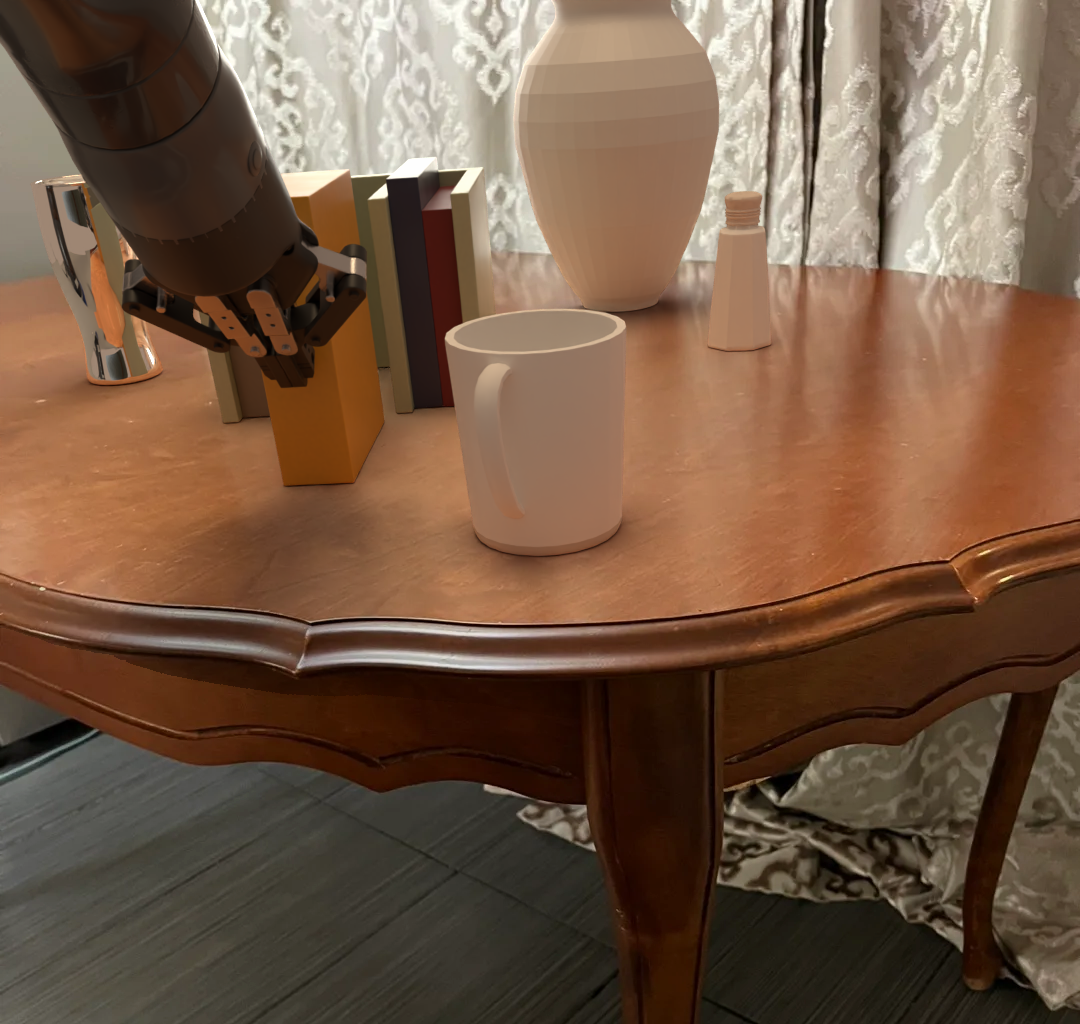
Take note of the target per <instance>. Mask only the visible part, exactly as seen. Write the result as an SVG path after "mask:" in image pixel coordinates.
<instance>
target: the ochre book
mask: <svg viewBox="0 0 1080 1024" xmlns="http://www.w3.org/2000/svg"><path fill="white" fill-rule="evenodd" d="M280 174H281V176H282V178H283V181H284V183H285V185H286V188H287V190H288V192H289V195H290V197H291V200H292V203H293V206H294V209H295V212H296V215H297V217H298V218H299V219H300V220H301V221H302V222H303V223H304V224H305V225H307V226H308V227H309V228H311V229H312V230H313V231H314V233H315V234H316V236H317V238H318V242H319V246H320V247H323V248H326V249H329V250H331V251H334V252H337V253H340V252H341V250H342V249H343V248H344V247H345V246H346V245H349V244H357V245H360V240H359V233H358V226H357V218H356V211H355V204H354V197H353V190H352V182H351V176H352V175H351V170H350V169H349V168H343V169H331V170H330V169H329V170H328V169H327V170H313V171H301V172H284V173H280ZM318 281H319V277H318V276H317V275H316V274H314V275H313V277H312V278H311V280H310V281H309V283H308V284H307V286H306V287H305V289H304V290H303V292H302V293H301V295H300V296H299V298H298V299H297V301H296V303H297V306H300V305H303V304H305V299H306V296H307V295H308V294H309V292H310V291H311V290H312V288H313V287H314V286H315V284H316V283H317V282H318ZM313 348H314V350H315V364H314V376H313V378H308V382H307V386H306V387H291V388H281V387H280V386H279V384H278V382H277V381H276V380H270V379H269V378H268V377H266V376H265V375H264V373H263V371H262V370H261V372H262V377H263V382H264V387H265V392H266V397H267V402H268V408H269V413H270V416H269V417H270V423H271V427H272V433H273V438H274V443H275V444H274V445H275V449H276V452H277V458H278V459H277V460H278V464H279V468H280V475H281V480H282V484H283V487H287V486H288V487H289V486H291V487H292V486H308V485H309V486H311V485H312V486H313V485H330V484H331V485H332V484H351V483H355V481H356V479H357V478H358V475H359V473H360V472H361V469H362V467H363V466H364V464H365V461H366V459H367V457H368V456H369V453H370V451H371V450H372V447H373V446H374V443H375V442H376V440H377V437H378V436H379V434H380V432H381V429H382V427H383V425H384V424H385V414H384V407H383V399H382V391H381V385H380V378H379V371H378V369H379V368H377V362H376V355H375V348H374V341H373V333H372V326H371V319H370V312H369V305H368V297H367V290H366V298H365V299H364V301H363V302H362V303H361V304H360V305H359V306H358V308H357V309H356V310H355V311H354V312H353V313H352V315H351V316H350V317H349V318H348V319H347V321H346V322H345V323H344V324H343V325H342V326H341V328H340V329H339V330H338V331H337V332H336V333H335V335H334V336H333V337H332V338H331V339H330V340H329V342H328V343H327V344H326V345H324V346H321V347H314V346H313Z"/></svg>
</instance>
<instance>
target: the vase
mask: <svg viewBox="0 0 1080 1024" xmlns="http://www.w3.org/2000/svg"><path fill="white" fill-rule="evenodd" d="M550 2H551V3H552V6H553V8H554V19H553V21H552V23H551V25H550V26H549V27H548V29H547V30H546V32H544V34H543V35H542V37H541V38H540V40H539V41H538V42H537V44H536V45H535V47H534V48H533V50H532V51H531V53H530V54H529V56H528V57H527V59H526V60H525V61H524V63H523V65H522V69H521V73H520V76H519V79H518V82H517V84H516V85H517V86H516V89H515V94H514V103H513V104H514V105H513V106H514V107H513V115H512V116H513V118H512V121H513V135H514V137H513V138H514V146H515V149H516V154H517V157H518V161H519V165H520V168H521V173H522V177H523V179H524V180H523V181H524V183H525V187H526V190H527V195H528V198H529V202H530V206H531V208H532V212H533V214H534V218H535V221H536V223H537V225H538V228H539V231H540V233H541V234H542V237H543V238H544V241H545V243H546V245H547V247H548V250H549V252H550V254H551V256H552V258H553V260H554V262H555V264H556V266H557V267H558V269H559V272H560V274H561V275H562V277H563V279H564V280H565V282H566V283H567V285H568V286H569V288H570V289H571V291H572V292H573V293H574V295H576V296H577V297H578V299H579V300H580V302H581V305H582V307H583V308H584V309H586V310H591V311H598V312H604V313H611V312H612V313H613V312H614V313H615V312H616V313H617V312H619V313H621V312H630V311H638V310H643V309H647V308H650V307H653V306H655V305H657V304H658V303H659V300H660V296H661V295H662V294H663V292H664V291H665V290H666V289H667V287H668V285H669V284H670V282H671V281H672V279H673V277H674V275H675V274H676V272H677V270H678V268H679V265H680V264H681V262H682V259H683V256H684V254H685V252H686V249H687V247H688V245H689V243H690V241H691V238H692V235H693V233H694V230H695V227H696V224H697V223H698V220H699V217H700V214H701V211H702V208H703V205H704V204H703V203H704V201H705V197H706V193H707V188H708V183H709V180H710V179H709V178H710V175H711V169H712V165H713V162H714V161H713V160H714V157H715V156H714V155H715V150H716V145H717V141H718V135H719V131H720V99H719V91H718V86H717V77H716V75H715V72H714V70H713V66H712V65H711V64H712V63H711V62H710V59H709V56H708V53H707V51H706V50H705V48H704V47H703V46H702V45H701V43H700V42H699V41H698V40H697V39H696V37H695V36H694V34H693V33H691V31H690V29H688V28H687V26H686V25H685V24H684V22H682V21H681V19H679V18H678V16H677V15H676V14H675V12H674V10H673V7H672V0H550Z"/></svg>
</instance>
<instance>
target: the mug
mask: <svg viewBox="0 0 1080 1024" xmlns="http://www.w3.org/2000/svg"><path fill="white" fill-rule="evenodd" d="M445 346H446V352H447V359H448V365H449V372H450V379H451V385H452V392H453V398H454V405H455V406H454V410H455V417H456V423H457V424H456V425H457V430H458V437H459V443H460V450H461V456H462V463H463V469H464V475H465V476H464V477H465V481H466V488H467V490H466V491H467V495H468V502H469V509H470V515H471V523H472V529H473V531H474V534H475V535H476V536H477V537H476V538H478V539H479V541H480V542H481V543H482V544H483V545H486V546H487V547H488V548H490V549H493V550H496V551H499V552H501V553H507V554H512V555H518V556H530V557H531V556H533V557H545V556H559V555H565V554H570V553H576V552H577V553H578V552H580V551H584V550H587V549H590V548H594V547H596V546H598V545H600V544H602V543H604V542H606V541H608V540H609V539H610V538H612V537H613V536H614V535H615V534H616V533H617V532H618V529H619V528H620V526H621V525H622V522H623V499H624V498H623V495H624V491H623V490H624V452H625V451H624V450H625V449H624V448H625V411H626V409H625V408H626V407H625V406H626V403H625V402H626V367H627V366H626V364H627V361H626V360H627V359H626V358H627V325H626V322H625V320H624V319H622V318H621V317H619V316H617V315H614V314H611V313H609V312H604V311H594V310H589V309H580V308H579V309H578V308H541V309H539V308H538V309H525V310H524V309H523V310H517V311H509V312H502V313H496V315H491V316H486V317H482V318H478V319H475V320H471V321H468V322H465V323H463V324H460V325H458V326H456V327H454V328H452V329H451V330H450V331H448V332H447V333H446V336H445Z"/></svg>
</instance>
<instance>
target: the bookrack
mask: <svg viewBox="0 0 1080 1024" xmlns="http://www.w3.org/2000/svg"><path fill="white" fill-rule="evenodd" d="M351 182H352V190H353V197H354V204H355V211H356V218H357V226H358V233H359V240H360V245H361V246H363V247H364V248H365V249H366V251H367V284H366V290H367V297H368V305H369V312H370V319H371V326H372V333H373V341H374V348H375V355H376V362H377V369H379V368H389V371H390V378H391V386H392V392H393V400H394V408H395V413H396V414H406V413H407V414H408V413H413V411H414V409H424V408H440V407H444V408H445V407H455V405H454V398H453V392H452V385H451V379H450V372H449V365H448V359H447V352H446V346H445V336H446V333H447V332H448V331H450V330H451V329H452V328H454V327H456V326H458V325H460V324H463V323H465V322H468V321H471V320H475V319H478V318H482V317H486V316H491V315H496V314H497V311H496V299H495V297H496V295H495V285H494V275H493V274H494V273H493V262H492V260H493V259H492V249H491V238H490V237H491V236H490V226H489V225H490V223H489V211H488V199H487V187H486V177H485V167H484V166H477V167H464V168H463V167H462V168H450V169H449V168H448V169H439V164H438V157H437V156H430V157H429V156H428V157H414V158H409V159H407V160H406V161H405V162H404V163H403V164H402V165H400V166H399V167H398V168H397V169H396V170H394V171H393V172H389V173H376V174H375V173H374V174H360V175H351ZM198 315H199V319H200V320H199V321H200V323H201V324H203V325H205V326H208V323H209V316H208V315H206V314H204V313H201V312H199V311H198ZM206 351H207V356H208V361H209V365H210V369H211V370H210V371H211V375H212V378H213V385H214V388H215V393H216V397H217V402H218V406H219V407H218V408H219V411H220V415H221V420H222V423H223V424H226V423H240V422H241V420H242V419H244V418H245V419H246V418H261V417H270V413H269V408H268V402H267V397H266V392H265V387H264V382H263V377H262V372H261V368H260V366H259V365H258V363H257V361H256V360H255V358H254V357H252V356H249V355H247V354H246V353H245V352H244V351H243V350H242V348H241V347H239V346H230V350H229V351H228V352H225V353H217V352H214V351H211V350H209V349H207V348H206Z"/></svg>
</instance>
